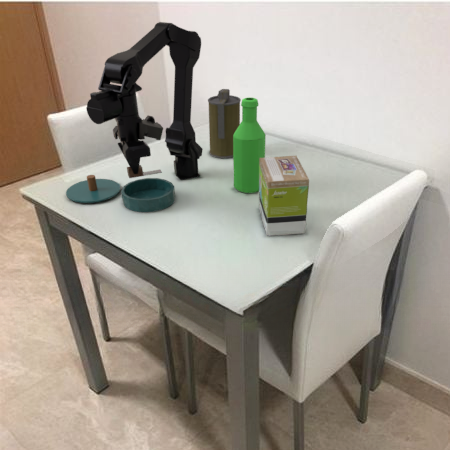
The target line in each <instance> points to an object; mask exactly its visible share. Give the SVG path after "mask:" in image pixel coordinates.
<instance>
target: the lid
mask: <svg viewBox="0 0 450 450" xmlns="http://www.w3.org/2000/svg"><path fill="white" fill-rule="evenodd" d="M120 192H121V184H120V183H118V182H117V181H115V180H113V179H108V178H96V175H95V174H89V175H87V176H86V179H85V180H81V181H78V182H76V183H74V184H72V185H70V186H69V187H68V188H67V190H66V191H65V195H66V197H67V199H69V200H70V201H73V202H75V203H81V204H82V203H83V204H93V203H99V202H104V201H107V200H110V199H112V198H114V197H116V196H117V195H118V194H119V193H120Z"/></svg>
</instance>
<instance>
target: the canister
mask: <svg viewBox="0 0 450 450" xmlns="http://www.w3.org/2000/svg"><path fill="white" fill-rule="evenodd" d="M230 91H231V90H230V89H229V88H221V89H219V90H218V93H217V95H214V96H210V97H209V98H208V99H207V102H208V129H209V132H208V133H209V155H210V156H212V157H213V158H218V159H233V135H234V133H235V131H236V130H237V128H238V127H239V125H240V123H241V102H242V99H241V97H238V96H236V95H231V93H230Z"/></svg>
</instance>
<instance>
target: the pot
mask: <svg viewBox="0 0 450 450" xmlns="http://www.w3.org/2000/svg"><path fill="white" fill-rule="evenodd" d="M120 192H121V198H122V203H123V205H124V207H125V208H126V209H128V210H130V211H133V212H138V213H152V212H160V211H162V210H165V209H167V208H169V207H171V206H172V205H173V204H174V203H175V201H176V192H175V185H174V183H173V182H172V181H170V180H168V179H164V178H159V177H145V178H139V179H138V178H137V179H135V180H132V181H129V182H127V183H126V184H125V185H123V186H122V188H121V189H120Z"/></svg>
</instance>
